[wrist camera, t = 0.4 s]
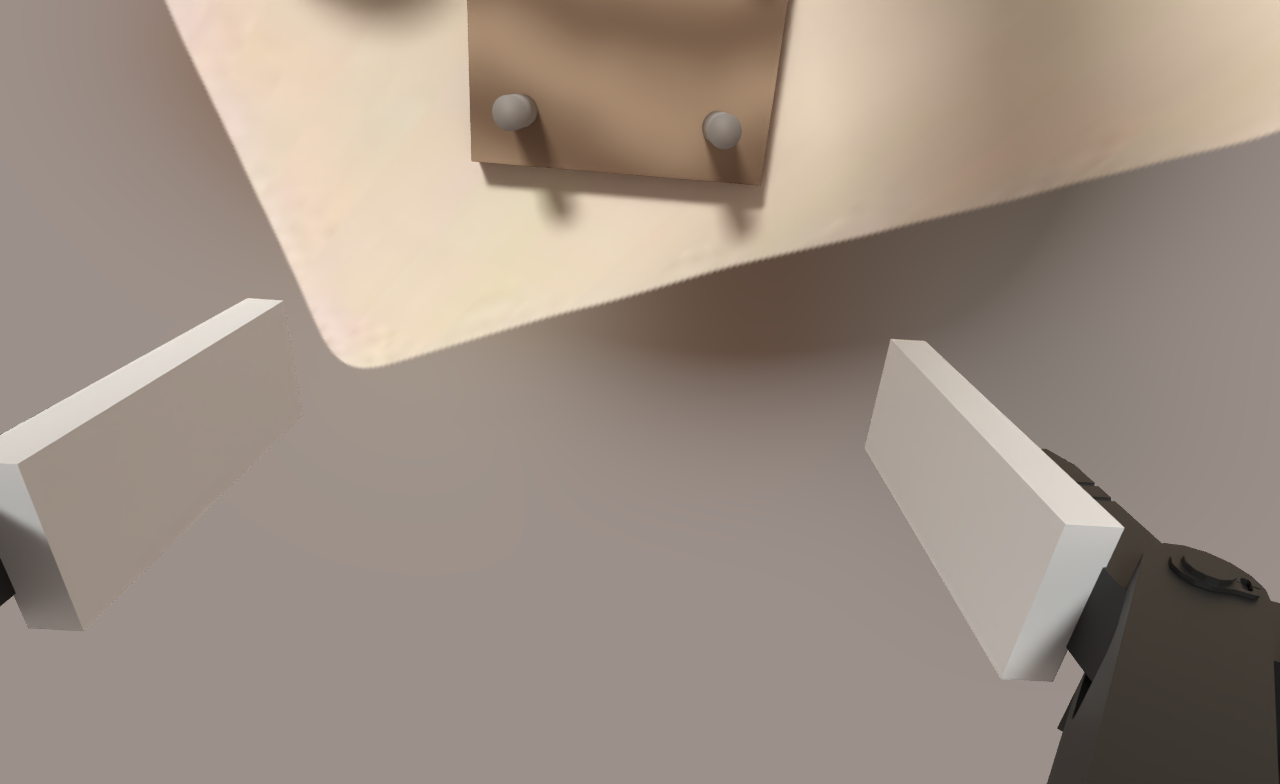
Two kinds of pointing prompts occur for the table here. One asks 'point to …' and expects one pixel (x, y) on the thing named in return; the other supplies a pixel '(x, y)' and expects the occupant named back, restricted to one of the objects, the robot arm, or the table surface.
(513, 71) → the stand
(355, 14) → the table surface
